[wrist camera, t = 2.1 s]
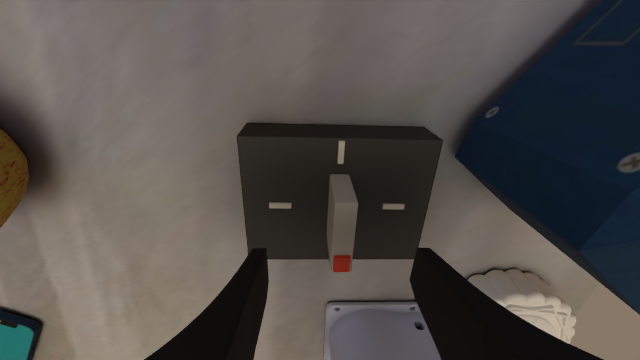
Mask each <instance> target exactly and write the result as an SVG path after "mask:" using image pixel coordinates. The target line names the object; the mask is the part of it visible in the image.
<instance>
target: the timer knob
mask: <svg viewBox="0 0 640 360" xmlns="http://www.w3.org/2000/svg"><path fill="white" fill-rule="evenodd" d="M357 212H358V201H357V198H356V195H355V192H354V188H353V185H352V182H351V179H350V176H349V175H347V174H330V180H329V199H328V218H327V243H328V253H329V263H330V271H333V272H350V271H351V268H352V258H353V249H354V240H355V230H356V221H357Z"/></svg>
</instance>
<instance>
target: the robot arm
mask: <svg viewBox="0 0 640 360" xmlns="http://www.w3.org/2000/svg"><path fill="white" fill-rule="evenodd" d="M268 282H269V279H268V264H267V249H266V248H253V249H252V250H251V251H250V253H249V255H248V256H247V258H246V259H245V261H244V262H243V264H242V265H241V267H240V268H239V269H238V271H237V272H236V273H235V275H234V276H233V277H232V279H231V280H230V281H229V283H228V284H227V285H226V286H225V287H224V289H223V290H222V291H221V292H220V293H219V295H218V296H217V297H216V298H215V299H214V300H213V301H212V302H211V304H210V305H209V306H208V307H207V308H206V309H205V310H204V311H203V312H202V313H201V314H200V315H199V316H198V317H196V318H195V319H194V320H193V321H192V322H191V323H190V324H189V325H188V326H187V327H186V328H184V329H183V330H182V331H181V332H180V333H179V334H177V335H176V336H175V337H174V338H172V339H171V340H170V341H169V342H167V343H166V344H165V345H164V346H162V347H161V348H160V349H158V350H157V351H156V352H154V353H153V354H152V355H150V356H149V357H147V358H146V359H144V360H253V359H254V354H255V348H256V344H257V340H258V335H259V331H260V327H261V322H262V318H263V314H264V309H265V305H266V299H267V291H268ZM410 282H411V286H412V290H413V293H414V296H415V299H416V302H332V303H329V304H327V306H326V320H325V337H324V353H323V356H324V359H325V360H603V359H601V358H598V357H596V356H594V355H592V354H590V353H588V352H585V351H583V350H581V349H579V348H577V347H574V346H572V345H570V344H568V343H566V342H564V341H562V340H560V339H558V338H556V337H554V336H552V335H550V334H549V333H547V332H545V331H543V330H541V329H539V328H538V327H536V326H534V325H532V324H531V323H529V322H527V321H525V320H524V319H522V318H520V317H519V316H517V315H515V314H514V313H512V312H511V311H509V310H508V309H506V308H505V307H503V306H502V305H500V304H499V303H497V302H496V301H494V300H493V299H491V298H490V297H489V296H487V295H486V294H485V293H483V292H482V291H481V290H479V289H478V288H477V287H475V286H474V285H473V284H472V283H470V282H469V281H468V280H467V279H465V278H464V277H463V276H462V275H461V274H459V273H458V272H457V271H456V270H455V269H453V268H452V267H451V266H450V265H449V264H448V263H447V262H445V261H444V260H443V259H442V258H441V257H440V256H438V255H437V254H436V253H435V252H434V251H433V250H431V249H430V248H417V250H416V254H415V259H414V263H413V267H412V272H411V276H410Z"/></svg>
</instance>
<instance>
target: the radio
mask: <svg viewBox="0 0 640 360" xmlns="http://www.w3.org/2000/svg"><path fill="white" fill-rule="evenodd" d="M455 157H456V158H457V159H458V160H459V161H460V162H461V163H462V164H463V165H464V166H465V167H466V168H467V169H468V170H469V171H470V172H471V173H472V174H473V175H474V176H475V177H477V178H478V179H479V180H480V181H481V182H482V183H483V184H484V185H485V186H486V187H487V188H488V189H489V190H490V191H491V192H492V193H493V194H494V195H495V196H496V197H498V198H499V199H500V200H501V201H502V202H503V203H504V204H505V205H506V206H507V207H508V208H509V209H510V210H512V211H513V212H514V213H515V214H517V215H518V216H519V217H520V218H521V219H523V220H524V221H525V222H526V223H528V224H529V225H530V226H531V227H533V228H534V229H535V230H536V231H537V232H539V233H540V234H541V235H542V236H544V237H545V238H546V239H547V240H549V241H550V242H551V243H552V244H553V245H555V246H556V247H557V248H558V249H560V250H561V251H562V252H563V253H565V254H566V255H567V256H568V257H569V258H571V259H572V260H573V261H574V262H576V263H577V264H578V265H579V266H580V267H582V268H583V269H584V270H585V271H587V272H588V273H589V274H590V275H592V276H593V277H594V278H595V279H596V280H598V281H599V282H600V283H601V284H603V285H604V286H605V287H606V288H608V289H609V290H610V291H611V292H613V293H614V294H615V295H616V296H617V297H619V298H620V299H621V300H622V301H624V302H625V303H626V304H627V305H629V306H630V307H631V308H632V309H633V310H635V311H636V312H637V313H638V314H640V0H602V1H601V2H600V3H599V4H598V5H597V6H596V7H595V8H594V9H593V10H592V11H591V12H590V13H589V14H588V15H586V16H585V17H584V18H583V19H582V20H581V21H580V22H579V23H578V24H577V25H576V26H575V27H574V28H573V29H572V30H571V31H570V32H568V33H567V34H566V35H565V36H564V37H563V38H562V39H561V40H560V41H559V42H558V43H557V44H556V45H555V46H554V47H553V48H552V49H550V50H549V51H548V52H547V53H546V54H545V55H544V56H543V57H542V58H541V59H540V60H539V61H538V62H537V63H536V64H535V65H534V66H532V67H531V68H530V69H529V70H528V71H527V72H526V73H525V74H524V75H523V76H522V77H521V78H520V79H519V80H518V81H517V82H516V83H515V84H513V85H512V86H511V87H510V88H509V89H508V90H507V91H506V92H505V93H504V94H503V95H502V96H501V97H500V98H499V99H498V100H497V101H495V102H494V103H493V104H492V105H491V106H490V107H489V108H488V109H487V110H486V111H485V112H484V113H483V114H482V115H481V116H480V117H479V118H477V119H476V120H475V121H474V123H473V124H472V126H471V127H470V129H469V131H468V133H467V135H466V137H465V138H464V140H463V142H462V144H461V146H460V148H459V149H458V151H457V153H456V155H455Z"/></svg>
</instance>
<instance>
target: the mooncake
mask: <svg viewBox="0 0 640 360" xmlns="http://www.w3.org/2000/svg"><path fill="white" fill-rule="evenodd" d="M468 281H469V282H470V283H472V284H473V285H474V286H475V287H477V288H478V289H479V290H481V291H482V292H483V293H485V294H486V295H487V296H489V297H490V298H491V299H493V300H494V301H496V302H497V303H499V304H500V305H502V306H503V307H505V308H506V309H508V310H509V311H511V312H512V313H514V314H515V315H517V316H519V317H520V318H522V319H524V320H525V321H527V322H529V323H531V324H532V325H534V326H536V327H538V328H539V329H541V330H543V331H545V332H547V333H549V334H550V335H552V336H554V337H556V338H558V339H560V340H562V341H564V342H566V343H568V344H569V343H570V342H571V340H570V339H571V338H572V337H573V336H574V334H575V328H574V327H573V326H574V325H575V324H576V317H575V315H574V314H573V313H572V312H571V311H572V310H571V307H570V305H569V304H568V303H567V302H566V301H565V300H564V299H563V298H562V297H561V296H560V295H559V294H558V293H557V292H556V291H555V290H554V289H553V288H552V287H551V286H550V285H549V284H548V283H547V282H545V281H543V280H540V279H539V278H538V277H537V276H536V275H535V274H533V273H522V272H521V271H520V270H517V269H510V270H507V271H505V272H503V271H501V270H492V271H490V272H488V273H486V274H485V275H474V276H472V277H470V278H469V279H468Z"/></svg>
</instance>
